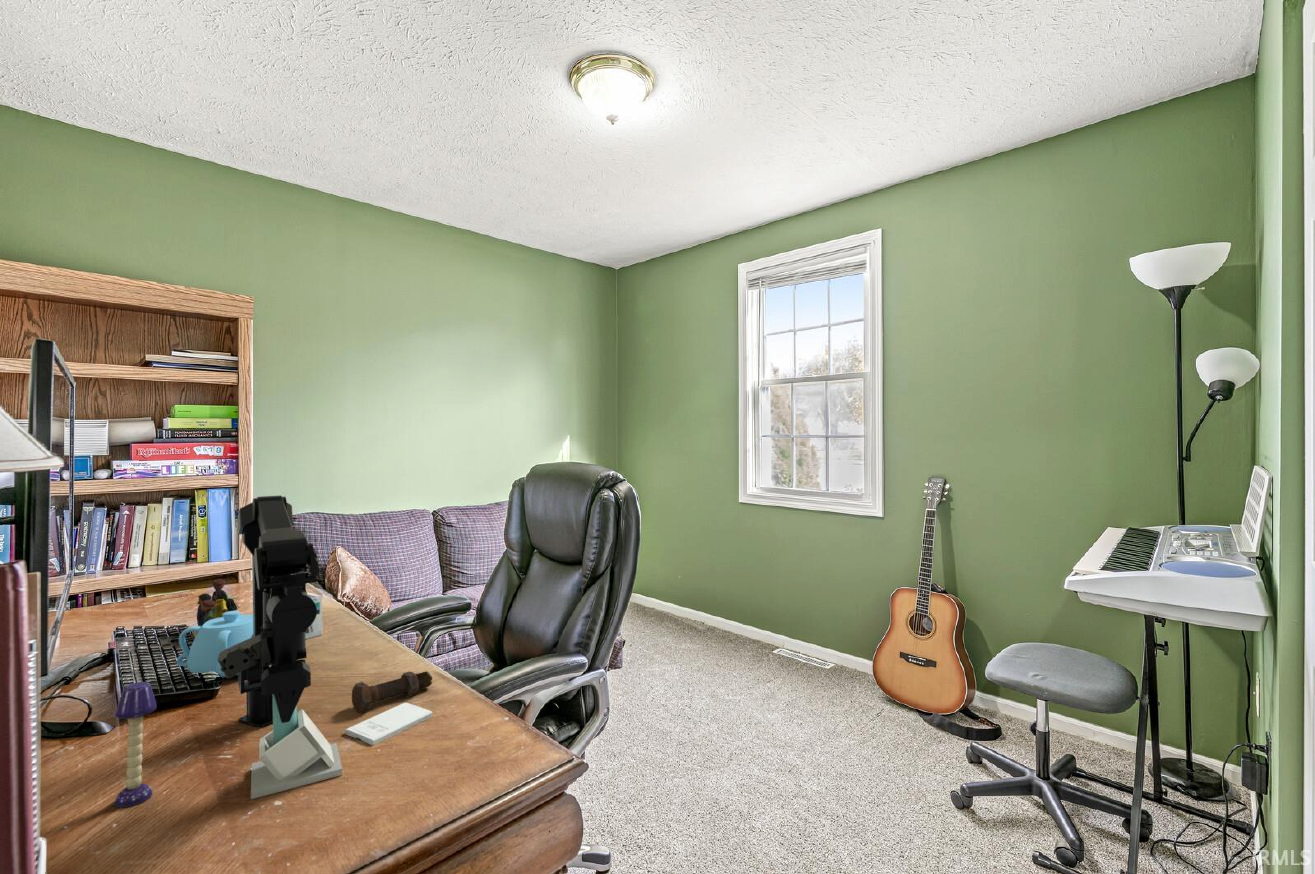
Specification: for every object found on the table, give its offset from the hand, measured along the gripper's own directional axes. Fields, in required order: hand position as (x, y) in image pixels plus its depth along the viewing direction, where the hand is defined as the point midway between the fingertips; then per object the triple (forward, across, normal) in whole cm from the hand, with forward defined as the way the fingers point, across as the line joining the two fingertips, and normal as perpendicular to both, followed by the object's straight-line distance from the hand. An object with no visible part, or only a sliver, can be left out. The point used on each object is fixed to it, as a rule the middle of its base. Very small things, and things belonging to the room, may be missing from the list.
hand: (285, 717), depth 97 cm
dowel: (+5, 0, 0) cm, 5 cm away
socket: (+9, 0, +2) cm, 9 cm away
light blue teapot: (+9, -56, -9) cm, 58 cm away
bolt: (+10, -21, +20) cm, 30 cm away
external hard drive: (+10, -9, +17) cm, 21 cm away
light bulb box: (+10, -78, +5) cm, 78 cm away
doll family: (+10, -92, -14) cm, 94 cm away
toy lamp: (+9, -5, -19) cm, 21 cm away
